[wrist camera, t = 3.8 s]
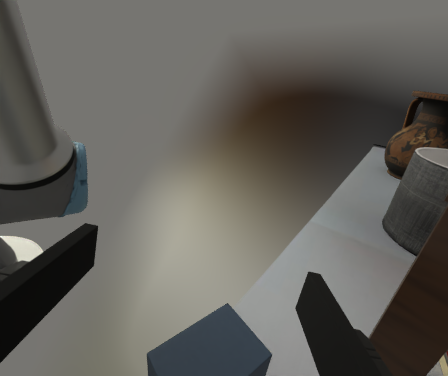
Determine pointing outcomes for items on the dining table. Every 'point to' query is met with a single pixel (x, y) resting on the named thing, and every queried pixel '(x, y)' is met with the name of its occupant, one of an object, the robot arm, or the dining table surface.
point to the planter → (418, 199)
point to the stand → (418, 311)
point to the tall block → (211, 349)
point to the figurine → (444, 364)
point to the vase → (418, 131)
